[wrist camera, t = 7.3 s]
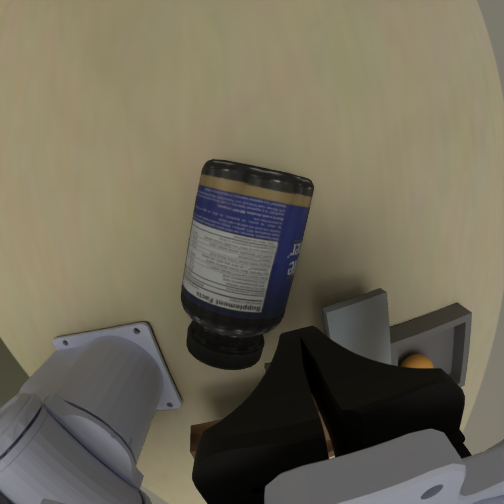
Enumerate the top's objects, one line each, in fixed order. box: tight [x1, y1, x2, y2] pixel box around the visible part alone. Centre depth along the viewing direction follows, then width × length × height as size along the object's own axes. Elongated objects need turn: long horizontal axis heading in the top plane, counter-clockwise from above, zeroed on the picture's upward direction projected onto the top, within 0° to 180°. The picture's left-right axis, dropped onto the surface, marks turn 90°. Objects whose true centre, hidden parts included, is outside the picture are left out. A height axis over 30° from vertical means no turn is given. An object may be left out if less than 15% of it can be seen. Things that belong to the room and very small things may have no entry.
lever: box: [190, 288, 391, 459], centre depth 18 cm, size 14×11×3 cm
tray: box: [389, 303, 472, 387], centre depth 22 cm, size 8×8×2 cm
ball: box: [400, 354, 434, 368], centre depth 21 cm, size 3×3×3 cm
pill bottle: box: [181, 159, 314, 370], centre depth 18 cm, size 6×6×11 cm
